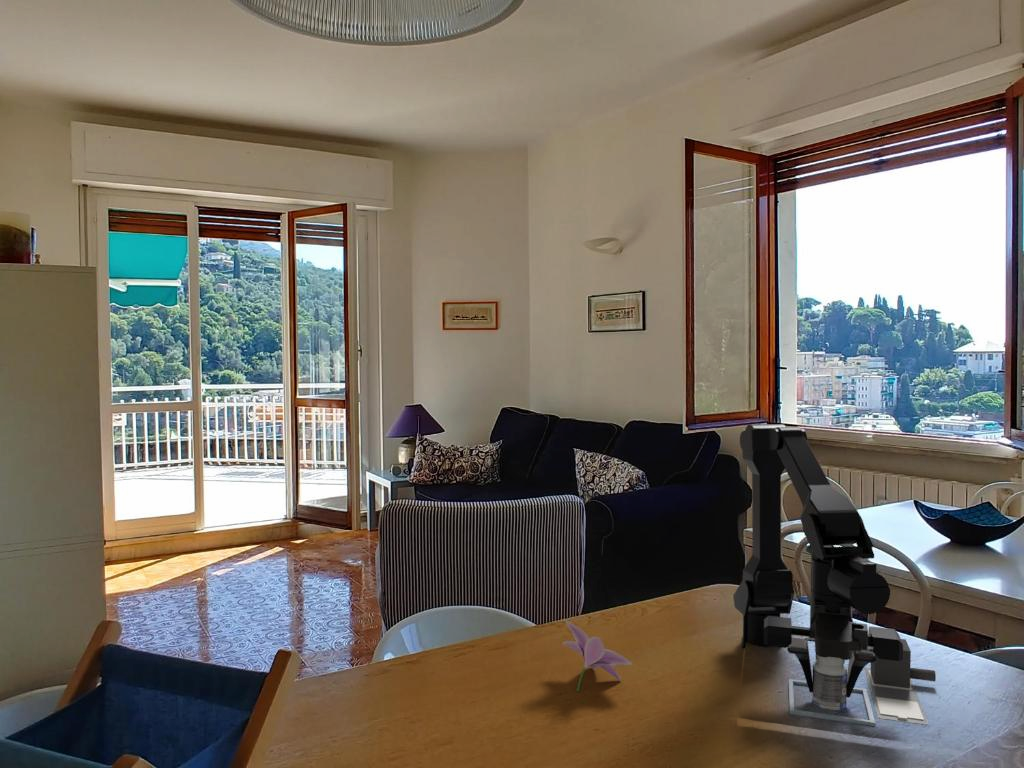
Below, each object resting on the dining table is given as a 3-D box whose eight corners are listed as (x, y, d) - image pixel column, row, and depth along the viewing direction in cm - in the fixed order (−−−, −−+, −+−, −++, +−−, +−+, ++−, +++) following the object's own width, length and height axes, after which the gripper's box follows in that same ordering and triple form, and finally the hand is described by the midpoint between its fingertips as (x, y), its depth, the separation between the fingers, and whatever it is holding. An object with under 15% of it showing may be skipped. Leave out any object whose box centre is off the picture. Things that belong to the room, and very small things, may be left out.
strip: (877, 723, 111) (877, 715, 111) (864, 672, 128) (864, 666, 128) (928, 730, 108) (929, 722, 108) (908, 677, 126) (908, 671, 125)
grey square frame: (789, 718, 112) (789, 710, 112) (788, 686, 123) (788, 678, 122) (875, 731, 108) (875, 722, 108) (866, 696, 119) (866, 689, 119)
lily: (635, 707, 118) (647, 643, 122) (567, 686, 115) (582, 620, 119) (598, 699, 129) (610, 640, 132) (535, 679, 126) (550, 620, 129)
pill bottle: (849, 716, 113) (850, 659, 112) (815, 713, 114) (816, 656, 113) (842, 701, 117) (843, 646, 117) (809, 698, 118) (810, 644, 118)
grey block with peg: (874, 684, 121) (875, 647, 121) (870, 672, 126) (871, 635, 126) (937, 692, 118) (938, 654, 118) (931, 679, 123) (932, 642, 123)
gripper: (764, 601, 110) (762, 708, 111) (910, 615, 104) (907, 729, 105) (765, 578, 120) (763, 676, 121) (898, 590, 114) (895, 694, 115)
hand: (829, 693), depth 115 cm, fingers closed on pill bottle, 5 cm apart
